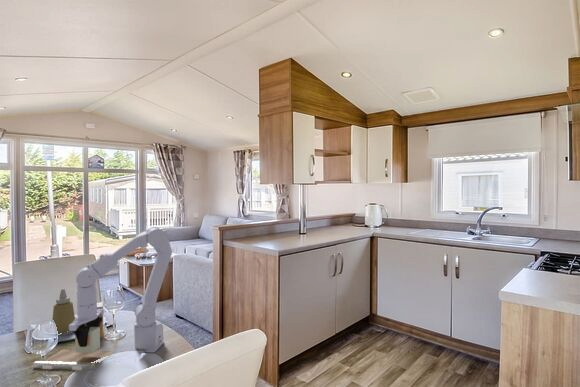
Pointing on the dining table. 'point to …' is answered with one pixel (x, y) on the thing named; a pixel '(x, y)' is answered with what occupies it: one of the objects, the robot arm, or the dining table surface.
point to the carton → (90, 341)
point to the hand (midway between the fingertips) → (87, 343)
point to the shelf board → (72, 360)
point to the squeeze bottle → (63, 312)
